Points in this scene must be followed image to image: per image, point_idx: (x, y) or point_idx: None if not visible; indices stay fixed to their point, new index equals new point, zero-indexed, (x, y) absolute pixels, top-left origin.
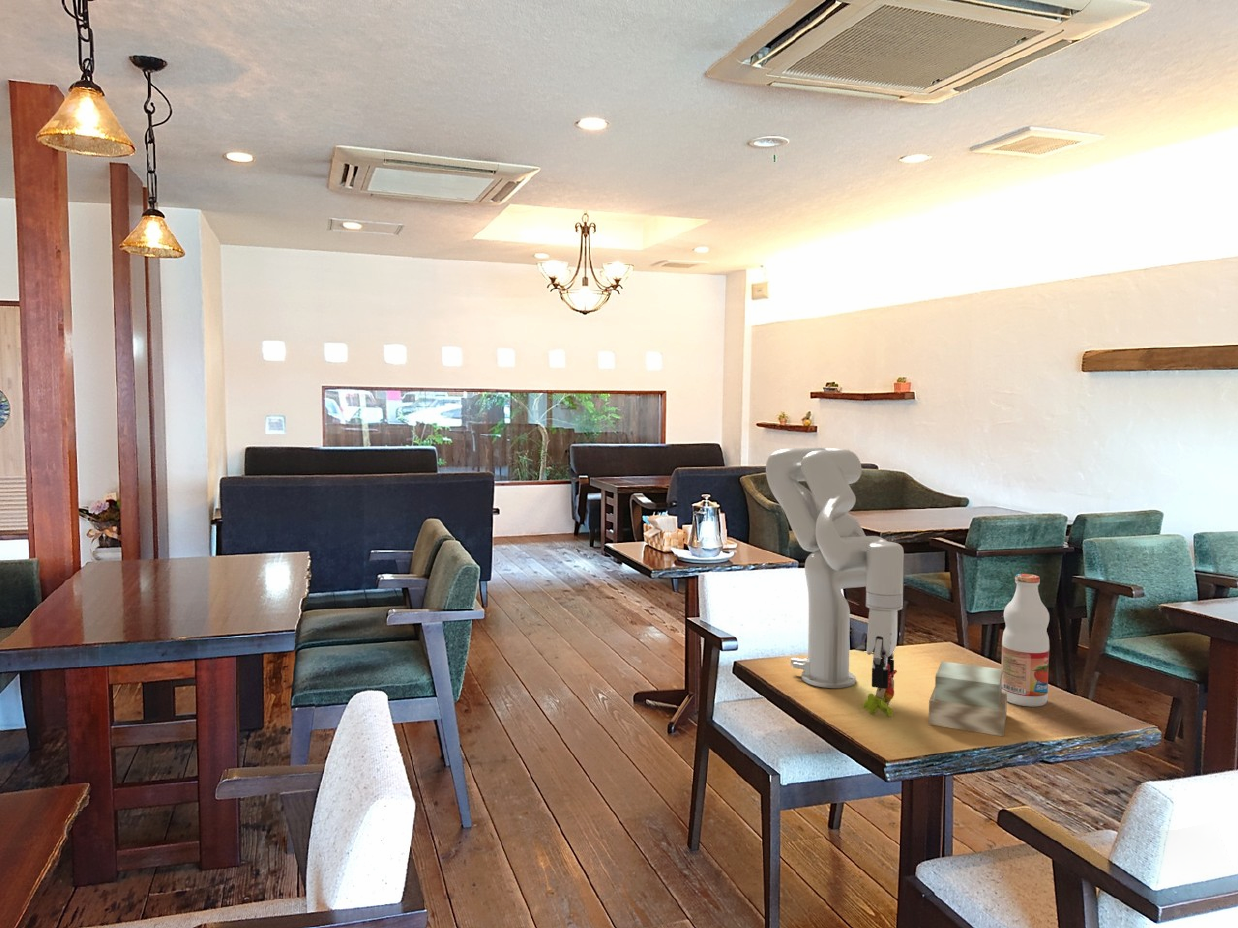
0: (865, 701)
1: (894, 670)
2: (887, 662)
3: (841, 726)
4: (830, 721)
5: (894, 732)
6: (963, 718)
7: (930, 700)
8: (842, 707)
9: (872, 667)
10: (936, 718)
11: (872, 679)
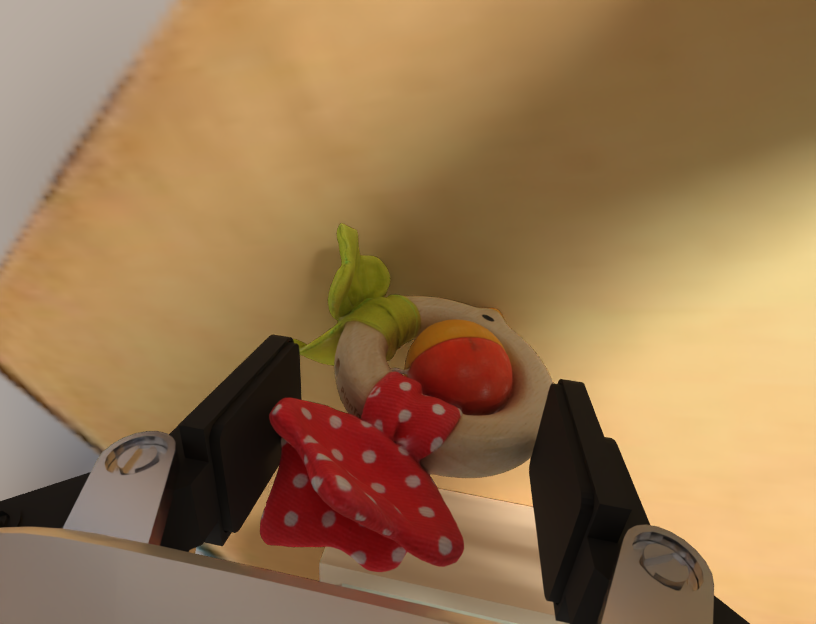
0: (344, 248)
1: (361, 560)
2: (554, 550)
3: (136, 126)
4: (165, 50)
5: (206, 357)
6: None
7: (323, 566)
8: (419, 83)
9: (116, 443)
10: None
11: (247, 363)
